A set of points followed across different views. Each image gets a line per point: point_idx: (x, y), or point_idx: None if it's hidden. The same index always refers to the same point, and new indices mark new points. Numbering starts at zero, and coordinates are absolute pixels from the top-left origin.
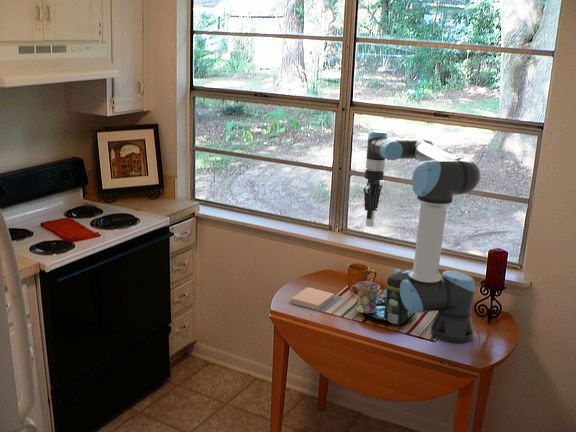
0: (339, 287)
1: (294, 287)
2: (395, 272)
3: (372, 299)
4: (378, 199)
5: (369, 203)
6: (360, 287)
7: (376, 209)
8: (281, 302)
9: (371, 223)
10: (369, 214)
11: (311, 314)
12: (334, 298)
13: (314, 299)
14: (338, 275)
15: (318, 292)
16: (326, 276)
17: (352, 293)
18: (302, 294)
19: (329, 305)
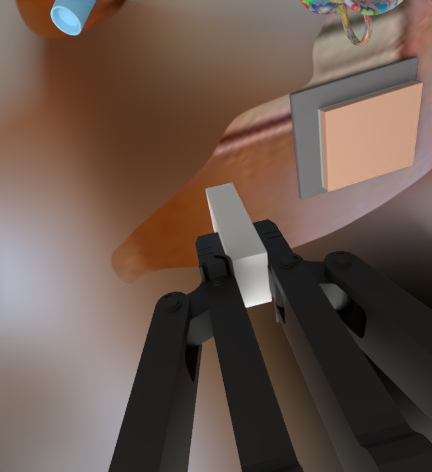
0: (225, 164)
1: (307, 228)
2: (85, 13)
3: None
4: (153, 390)
5: (422, 308)
6: (363, 1)
7: (220, 263)
8: (399, 181)
9: (237, 198)
10: (286, 247)
11: (428, 81)
12: (317, 108)
13: (392, 120)
14: (156, 226)
15: (343, 148)
16: (189, 238)
17: (353, 33)
18: (378, 164)
19: (368, 81)
